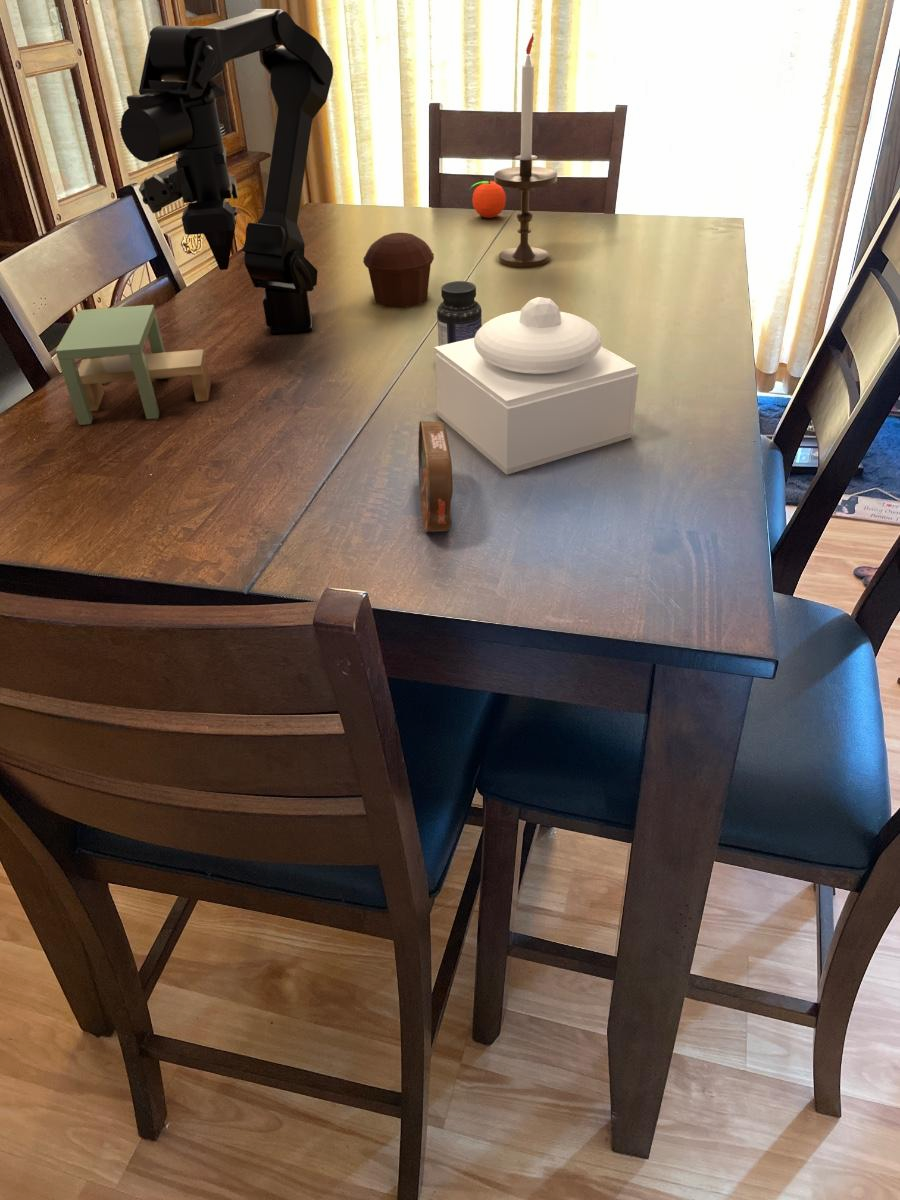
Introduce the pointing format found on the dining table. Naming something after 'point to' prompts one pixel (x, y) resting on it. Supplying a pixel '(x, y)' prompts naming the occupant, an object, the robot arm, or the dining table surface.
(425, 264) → the muffin
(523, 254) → the candlestick
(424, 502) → the tin
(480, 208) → the clementine
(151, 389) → the side table
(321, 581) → the dining table surface
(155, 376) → the bench
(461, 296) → the pill bottle
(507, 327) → the white lidded box
